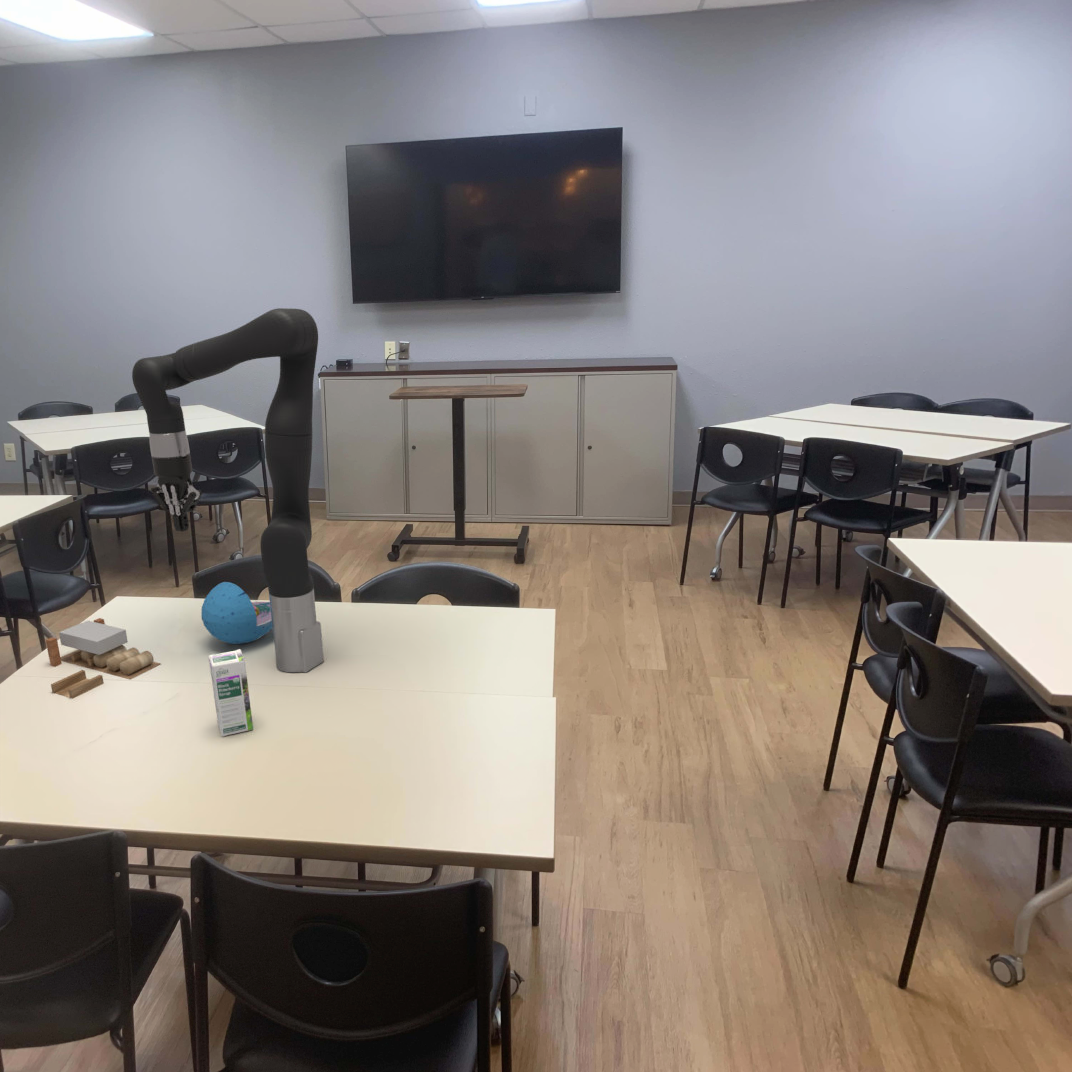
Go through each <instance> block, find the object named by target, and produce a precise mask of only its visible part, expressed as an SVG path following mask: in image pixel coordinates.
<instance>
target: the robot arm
mask: <svg viewBox="0 0 1072 1072" xmlns="http://www.w3.org/2000/svg"><path fill="white" fill-rule="evenodd" d="M318 329H319V328H318V325H317V323H316V320H315V319H314V318H313V316H312V314H310V312H308V311H306V310H305V309H300V308H273V309H271V310H268V311H266V312H265V313H263V314H261V315H258V316H257V317H256V318H254V319H253V320H251V321H248V322H247V323H245V324H243V325H242V326H239V327H238V328H236V329H233V330H230V331H229V332H226V333H223V334H220V335H217V336H214V337H210V338H207V339H204V340H200V341H197V342H194V343H191V344H188V345H185V346H183V347H181V348H179V349H177V350H176V351H175V352H173V353H169V354H164V355H159V356H152V357H151V356H149V357H143V358H140V359H138V360H137V361H136V362H135V363H134V365H133V368H132V372H131V378H132V384H133V387H134V389H135V391H136V393H137V396H138V398H139V401H140V403H141V405H142V407H143V410H144V411H145V415H146V420H147V426H148V427H147V429H148V436H149V448H150V449H149V450H150V453H151V455H150V456H151V461H152V466H153V475H155V476H156V477H157V485H156V486H154V487H151V488H150V492H151V493H152V496H153V497H154V498H155V499H156V500H157V502H158V503H159V505H160V506H161V508H162V509H163V510H164V511H165V512H169V513H170V515H171V516H172V521H173V527H174V529H175V531H176V532H185V531H188V529H189V528H190V527H189V526H190V525H189V517H188V513H191V512H194V511H195V509H196V508H197V505H198V503H199V501H200V499H201V497H202V495H203V492H202V490H201V489H198V490H197V489H196V488H195V487H194V486H193V481H192V479H191V474H192V472H193V465H192V457H191V452H190V451H191V450H190V445H189V439H188V436H187V432H186V425H185V418H184V412H183V408H182V406H181V405H180V404H179V403H177V402H174V401H170V398H169V396H168V394H167V391H170V390H174V389H178V388H180V387H184V386H186V385H188V384H190V383H193V382H195V381H200V380H204V379H207V378H210V377H213V376H216V375H219V374H221V373H223V372H224V373H225V372H227V371H229V370H230V369H232V368H235V366H238V365H240V364H242V363H245V362H248V361H252V360H257V359H266V358H275V357H276V358H279V362H280V363H279V379H278V384H277V387H276V391H275V393H274V395H273V397H272V400H271V403H270V406H269V407H268V411H267V414H266V419H265V422H264V423H265V424H264V425H265V426H264V452H265V453H264V454H265V462H266V465H267V470H268V474H269V477H270V481H271V485H272V507H271V516H270V521H269V524H268V525H267V527H265V529H264V531H263V532H262V533H261V536H260V543H259V544H260V555H261V556H260V557H261V562H262V570H263V576H264V580H265V584H266V585H267V589H268V596H269V597H268V598H269V602H270V609H271V619H272V628H271V629H272V636H273V646H274V654H275V655H274V656H275V664H276V668H277V669H278V670H280V671H281V672H287V673H298V672H299V673H300V672H301V673H302V672H303V673H308V672H309V671H310V670H312V669H314V668H315V667H317V666H318V665H320V664H322V663H323V662H324V661H325V660H324V651H323V649H324V648H323V638H322V637H323V636H322V625H321V622H320V621H317V611H316V599H315V598H316V597H315V589H314V578H313V575H312V574H310V568H309V560H308V551H307V550H308V548H309V546H310V545H311V542H312V537H313V534H312V522H311V512H310V511H311V510H310V499H309V498H310V497H309V495H310V494H309V492H310V491H309V490H310V481H311V479H310V478H311V472H312V454H313V407H314V404H313V403H314V377H315V368H316V362H317V354H318V345H319V332H318V331H319V330H318Z"/></svg>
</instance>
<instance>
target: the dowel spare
mask: <svg viewBox="0 0 1072 1072" xmlns="http://www.w3.org/2000/svg"><path fill="white" fill-rule="evenodd" d="M95 655H97V654H94V653H90V652H87V651H81V658H82V659H83V661H84V662H85V663H88V662H87V659H88V658H90V657H92V656H95Z"/></svg>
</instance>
